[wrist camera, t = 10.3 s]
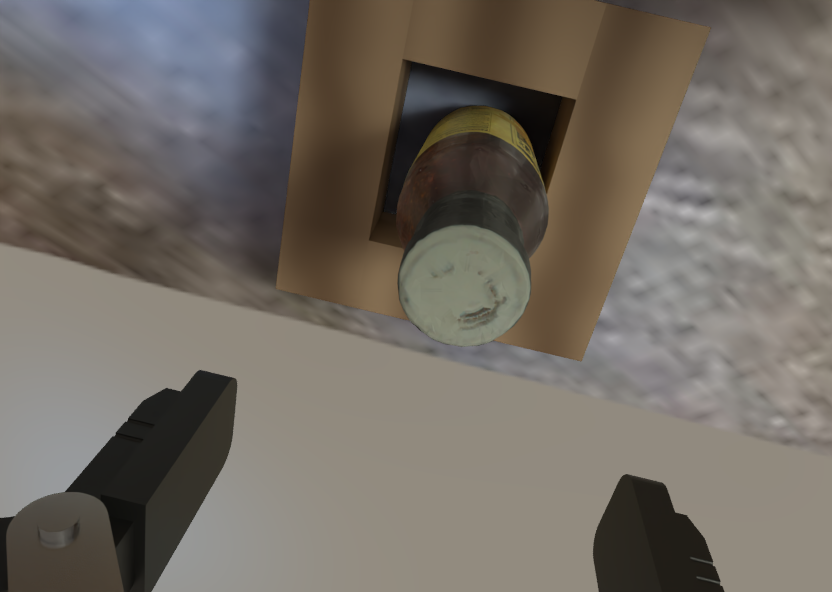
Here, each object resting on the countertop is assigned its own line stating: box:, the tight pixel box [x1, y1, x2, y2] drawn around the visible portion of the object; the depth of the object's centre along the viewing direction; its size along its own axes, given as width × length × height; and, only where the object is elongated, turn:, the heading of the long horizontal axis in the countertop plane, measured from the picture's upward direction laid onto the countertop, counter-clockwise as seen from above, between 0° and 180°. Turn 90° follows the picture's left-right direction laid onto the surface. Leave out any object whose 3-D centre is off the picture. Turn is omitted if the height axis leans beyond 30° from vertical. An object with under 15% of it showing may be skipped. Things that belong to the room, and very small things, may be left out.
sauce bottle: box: [396, 106, 549, 347], centre depth 28 cm, size 6×6×20 cm
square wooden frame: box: [276, 0, 711, 361], centre depth 34 cm, size 18×18×5 cm
